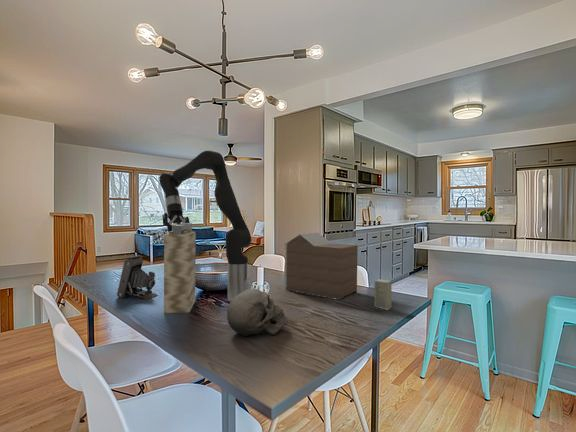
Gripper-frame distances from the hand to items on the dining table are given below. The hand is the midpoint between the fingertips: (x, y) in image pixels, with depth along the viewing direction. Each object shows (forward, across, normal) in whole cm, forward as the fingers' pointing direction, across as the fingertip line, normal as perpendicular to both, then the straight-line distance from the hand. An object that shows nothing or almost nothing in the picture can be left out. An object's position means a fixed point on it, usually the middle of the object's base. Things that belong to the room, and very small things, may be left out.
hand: (178, 233), depth 160 cm
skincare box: (+64, +48, -66) cm, 104 cm away
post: (+38, -8, -4) cm, 39 cm away
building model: (+44, +55, -34) cm, 78 cm away
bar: (+8, -9, -16) cm, 21 cm away
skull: (+60, -6, -43) cm, 74 cm away
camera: (+24, -11, +23) cm, 35 cm away
